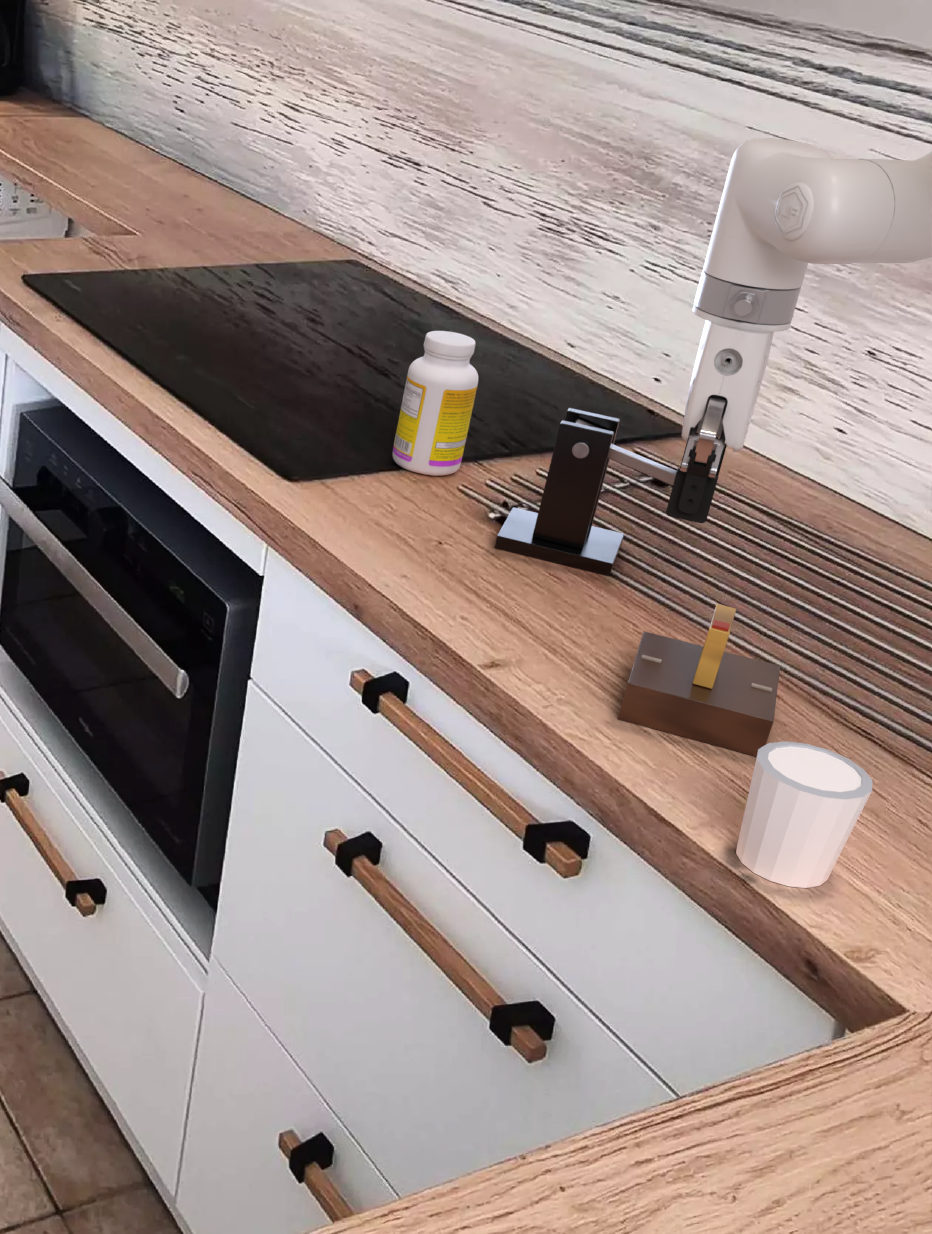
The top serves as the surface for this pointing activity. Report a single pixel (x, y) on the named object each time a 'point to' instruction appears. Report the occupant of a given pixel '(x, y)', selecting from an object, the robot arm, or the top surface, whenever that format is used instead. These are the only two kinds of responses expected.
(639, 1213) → the top surface
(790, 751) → the shot glass
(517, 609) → the top surface
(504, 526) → the handle bracket
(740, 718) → the plate
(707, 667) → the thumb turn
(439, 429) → the supplement bottle
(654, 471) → the door handle
